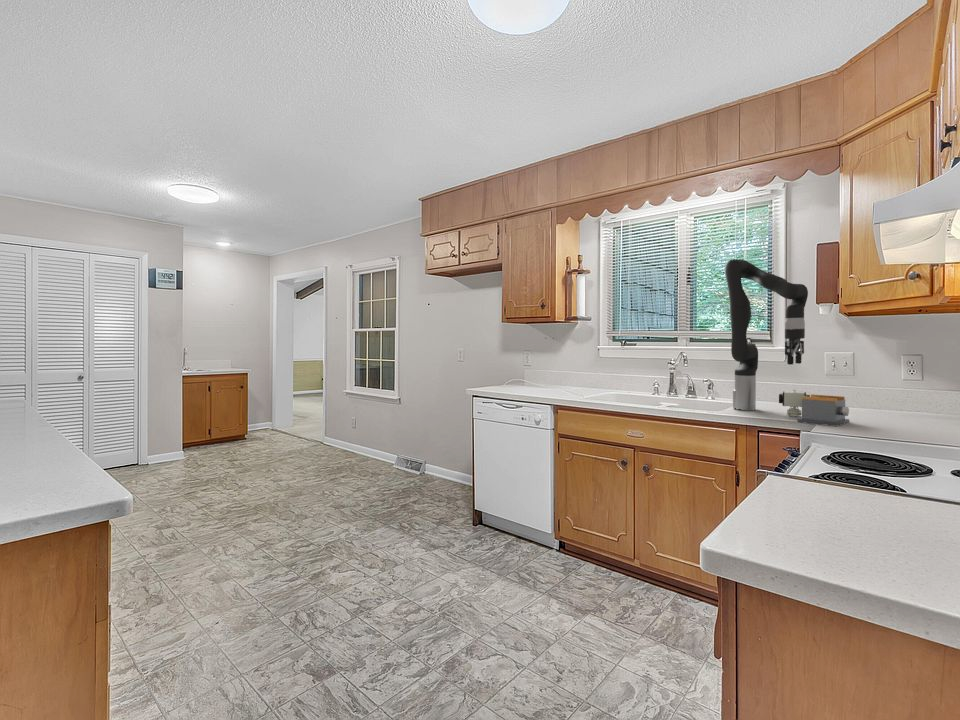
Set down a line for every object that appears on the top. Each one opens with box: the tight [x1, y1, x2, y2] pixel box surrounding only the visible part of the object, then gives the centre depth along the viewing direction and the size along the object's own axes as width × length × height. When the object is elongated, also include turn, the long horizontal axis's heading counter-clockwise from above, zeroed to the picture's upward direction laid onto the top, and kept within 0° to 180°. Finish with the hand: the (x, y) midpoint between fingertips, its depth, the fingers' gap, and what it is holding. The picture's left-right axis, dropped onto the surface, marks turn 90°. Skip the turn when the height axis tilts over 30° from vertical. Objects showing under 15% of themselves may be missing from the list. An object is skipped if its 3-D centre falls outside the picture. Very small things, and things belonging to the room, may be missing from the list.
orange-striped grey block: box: [797, 394, 850, 426], centre depth 200 cm, size 15×14×11 cm
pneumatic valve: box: [778, 389, 811, 418], centre depth 217 cm, size 6×12×12 cm, turn 55°
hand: (794, 363), depth 216 cm, fingers open, 8 cm apart
